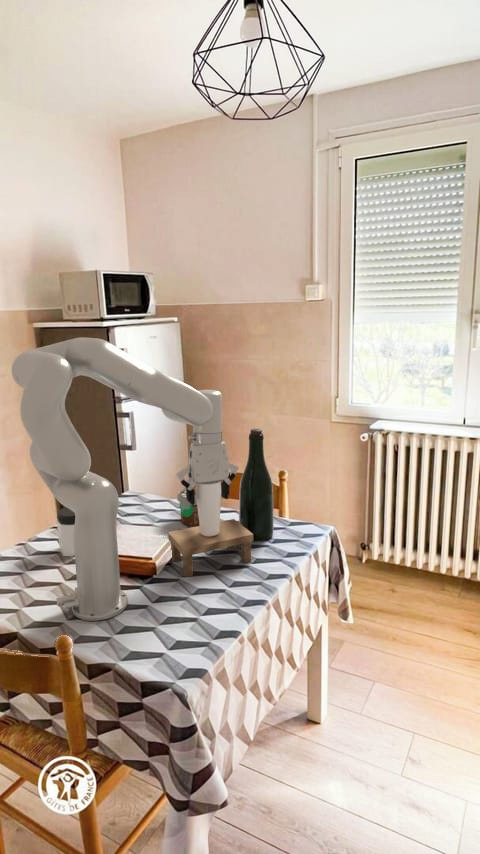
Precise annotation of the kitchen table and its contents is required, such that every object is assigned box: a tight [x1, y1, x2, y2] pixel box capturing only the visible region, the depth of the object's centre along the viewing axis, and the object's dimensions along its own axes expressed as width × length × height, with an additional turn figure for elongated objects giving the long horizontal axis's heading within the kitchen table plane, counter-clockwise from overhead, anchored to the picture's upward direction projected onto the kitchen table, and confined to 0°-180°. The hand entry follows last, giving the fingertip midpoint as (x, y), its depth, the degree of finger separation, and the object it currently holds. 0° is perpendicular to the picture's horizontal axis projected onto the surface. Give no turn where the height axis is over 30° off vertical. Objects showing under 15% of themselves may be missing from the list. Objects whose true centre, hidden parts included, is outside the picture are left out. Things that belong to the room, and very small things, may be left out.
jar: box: [56, 507, 75, 557], centre depth 150 cm, size 9×8×12 cm
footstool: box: [167, 518, 254, 578], centre depth 143 cm, size 20×12×8 cm, turn 117°
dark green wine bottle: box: [238, 428, 275, 542], centre depth 157 cm, size 10×10×33 cm
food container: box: [176, 487, 200, 528], centre depth 169 cm, size 12×6×10 cm, turn 17°
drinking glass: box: [195, 480, 222, 537], centre depth 141 cm, size 7×7×15 cm
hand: (208, 500), depth 140 cm, fingers open, 9 cm apart
